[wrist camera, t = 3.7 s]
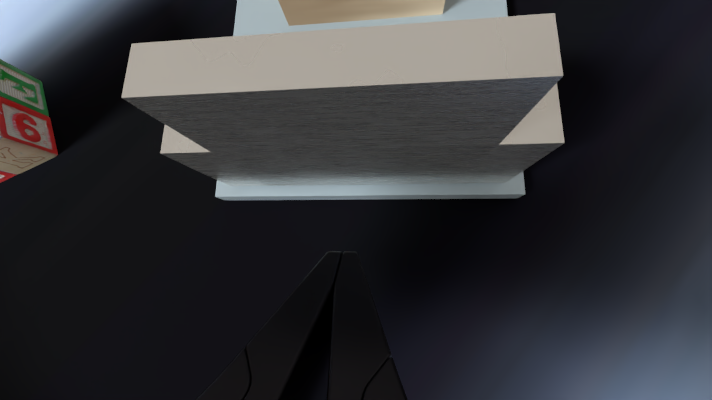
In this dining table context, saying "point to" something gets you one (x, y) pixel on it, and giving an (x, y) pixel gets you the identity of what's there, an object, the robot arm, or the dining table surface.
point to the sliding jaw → (357, 102)
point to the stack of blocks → (23, 123)
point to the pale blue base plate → (266, 17)
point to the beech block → (355, 10)
